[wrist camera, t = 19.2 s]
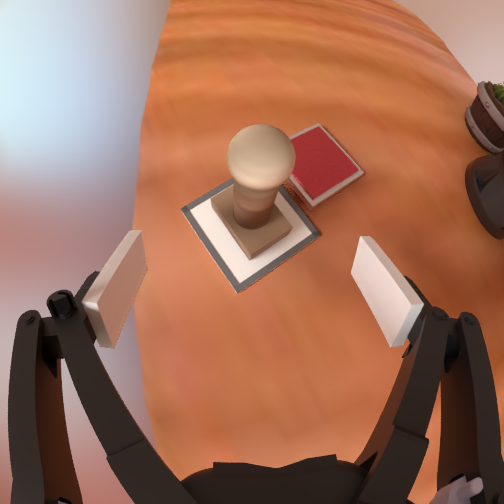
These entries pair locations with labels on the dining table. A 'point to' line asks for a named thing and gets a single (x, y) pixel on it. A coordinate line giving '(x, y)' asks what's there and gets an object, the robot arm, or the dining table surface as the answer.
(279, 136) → the stamp
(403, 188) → the dining table surface
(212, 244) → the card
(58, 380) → the robot arm
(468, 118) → the flowerpot
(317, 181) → the ink pad
